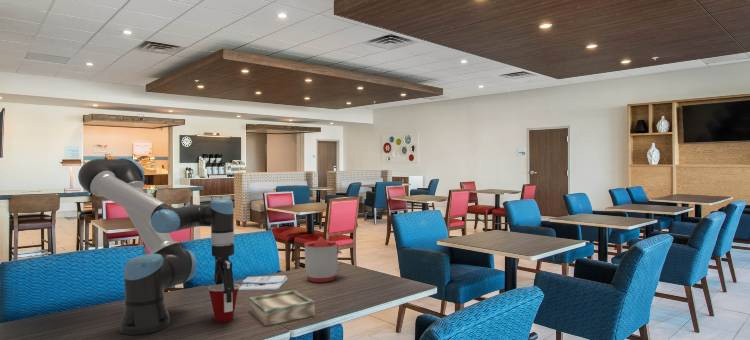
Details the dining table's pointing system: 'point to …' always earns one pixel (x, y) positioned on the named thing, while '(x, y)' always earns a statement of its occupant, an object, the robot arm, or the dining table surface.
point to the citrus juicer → (321, 260)
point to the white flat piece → (270, 282)
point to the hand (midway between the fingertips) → (224, 307)
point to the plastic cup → (221, 302)
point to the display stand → (281, 307)
